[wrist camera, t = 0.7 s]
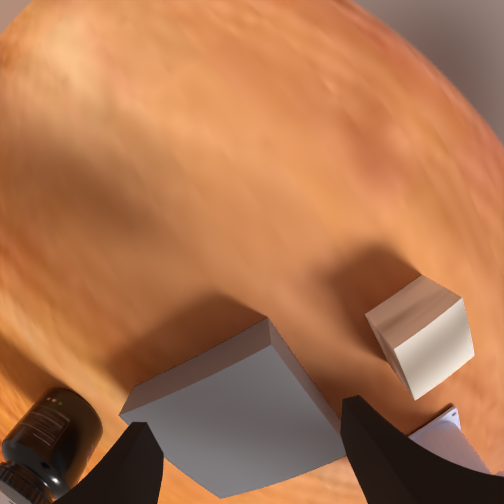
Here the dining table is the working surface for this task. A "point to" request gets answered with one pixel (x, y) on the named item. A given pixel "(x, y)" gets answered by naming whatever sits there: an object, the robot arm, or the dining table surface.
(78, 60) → the dining table surface
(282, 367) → the charcoal box
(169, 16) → the dining table surface
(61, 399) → the supplement bottle
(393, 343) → the birch block
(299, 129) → the dining table surface
